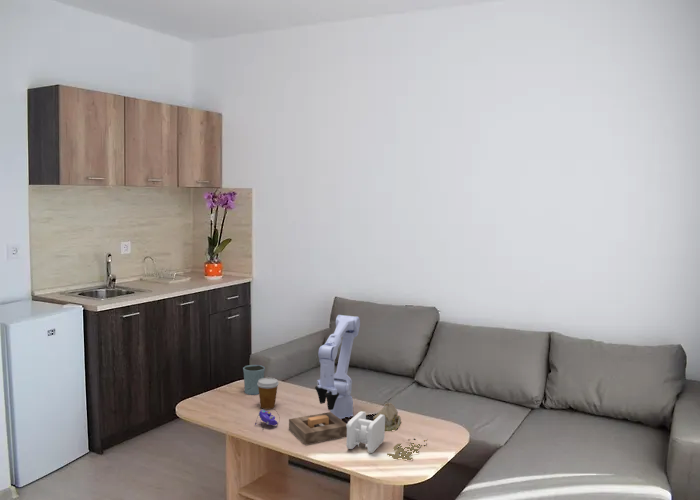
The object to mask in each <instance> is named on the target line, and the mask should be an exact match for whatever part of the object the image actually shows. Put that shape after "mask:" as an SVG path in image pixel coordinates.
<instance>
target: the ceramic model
mask: <svg viewBox="0 0 700 500" xmlns="http://www.w3.org/2000/svg"><path fill="white" fill-rule="evenodd" d="M384 405H385V406H384V407H383V408H382V409H381V410H380V411H379V412H377V413H376V414H375V415H374V416H373V417H372V419H373V420H372V421H374V420H375V419H376V418H377V417H378V416H379V415H380V414H382V415H385V432H386V431H391V432H393V431H392V430H395V431H397V430H398V429H399V427H400V426H401V420H402V419H401V416H400V415H398V414H399V412H398V410H397V408H396V407H395V405H394V404H393V403H392V402H386V403H384ZM399 425H400V426H399ZM397 428H398V429H397ZM396 429H397V430H396Z"/></svg>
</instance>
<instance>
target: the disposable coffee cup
mask: <svg viewBox="0 0 700 500" xmlns="http://www.w3.org/2000/svg"><path fill="white" fill-rule="evenodd" d="M257 385H258V388H259V394H258V396H259V404H260V405H259V406H260V408H261V409H262V408H263V409H262V410H271V409H275V407H276V398H277V394H278V393H277V391H278V385H279V381H278V379H277V378H274V377H264V378H262V379H260V380H258V383H257Z"/></svg>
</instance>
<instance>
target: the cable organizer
mask: <svg viewBox="0 0 700 500" xmlns="http://www.w3.org/2000/svg"><path fill="white" fill-rule="evenodd" d="M346 427H347V437H346V445H345V446H346V449H349V450H353V449H354V448H355V447H356V446H357V447H360V444H365V449H367V452H368V453H371V454H373V453H374V452H375V451H376V449H378V448H379V447H380V446H381V445H382V444H383V442H384V440H385V434H386V433H385V432H386V431H385V415H382V414H380V415H379V416H378V417H377V418H376V419H375V420H370V419H367V412H366V411H359V412H358V413H356V415H354V416H353V417H352V418H351V419H350V420H348V421H347V423H346ZM380 444H381V445H380ZM379 445H380V446H379Z"/></svg>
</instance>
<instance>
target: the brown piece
mask: <svg viewBox="0 0 700 500" xmlns="http://www.w3.org/2000/svg"><path fill="white" fill-rule="evenodd" d="M321 415H327V416H328V417H329V425H323V424H322V423H321V424H315V425H314V428H309V427H308V418H310V417H316V416H321ZM346 424H347V423H346V422H345V421H343V420H342V419H339V418H338V417H337V416H335V415H334V414H333V413H331V412H330V411H328V412H322V413H315V414H310V415H305V416H300V417H299V416H298V417H295V418H289V419H288V431H289V432H291V433H292V434H293V436H295V437H296V438H297V439H298V440H299V441H300V442H301V443H302V444H304V445H305V446H306V445H312V444H316V443H321V442H327V441H331V440H332V441H333V440H336V439H340V438H341V439H342V438H347V427H346Z"/></svg>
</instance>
